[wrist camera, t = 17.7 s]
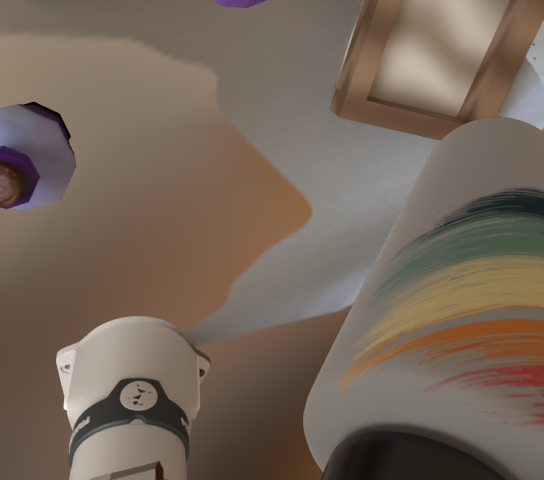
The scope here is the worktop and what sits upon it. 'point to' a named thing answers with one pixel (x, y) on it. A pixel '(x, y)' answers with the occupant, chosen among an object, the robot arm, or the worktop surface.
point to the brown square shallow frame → (433, 62)
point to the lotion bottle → (446, 326)
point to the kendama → (238, 3)
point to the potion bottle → (33, 156)
